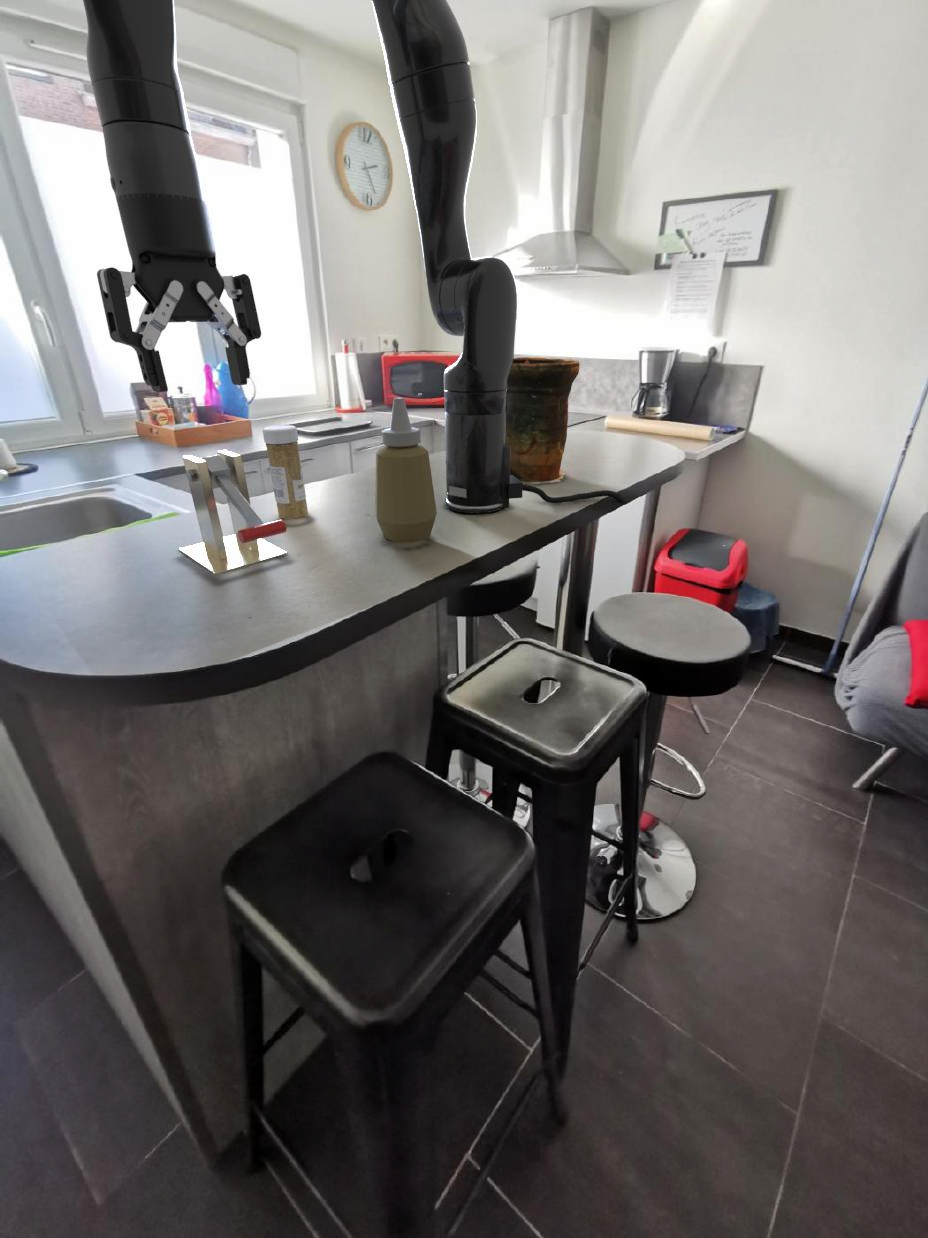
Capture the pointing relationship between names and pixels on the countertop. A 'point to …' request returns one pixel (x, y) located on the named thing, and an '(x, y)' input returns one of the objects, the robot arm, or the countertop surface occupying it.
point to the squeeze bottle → (403, 481)
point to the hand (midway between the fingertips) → (202, 387)
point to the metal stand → (215, 548)
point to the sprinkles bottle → (286, 470)
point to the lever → (241, 503)
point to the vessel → (538, 417)
